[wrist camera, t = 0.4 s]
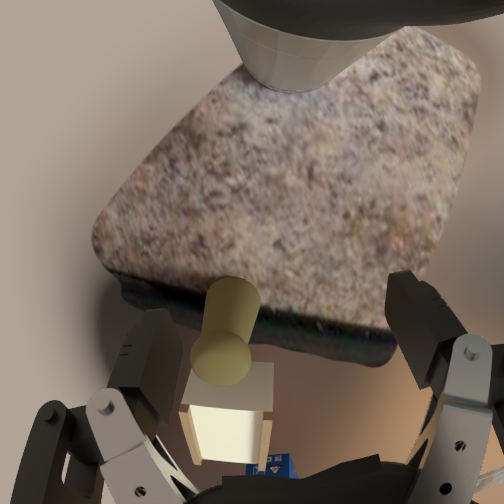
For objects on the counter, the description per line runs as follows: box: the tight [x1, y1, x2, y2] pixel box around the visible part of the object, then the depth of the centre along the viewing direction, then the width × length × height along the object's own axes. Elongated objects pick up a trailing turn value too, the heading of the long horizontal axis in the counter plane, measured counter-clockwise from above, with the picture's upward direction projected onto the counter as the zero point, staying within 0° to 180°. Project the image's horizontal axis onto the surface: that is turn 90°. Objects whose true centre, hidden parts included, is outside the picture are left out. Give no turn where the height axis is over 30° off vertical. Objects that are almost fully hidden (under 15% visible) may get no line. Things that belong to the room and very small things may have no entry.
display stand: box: [179, 361, 274, 471], centre depth 35 cm, size 14×10×9 cm
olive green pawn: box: [190, 277, 260, 386], centre depth 28 cm, size 6×6×11 cm
